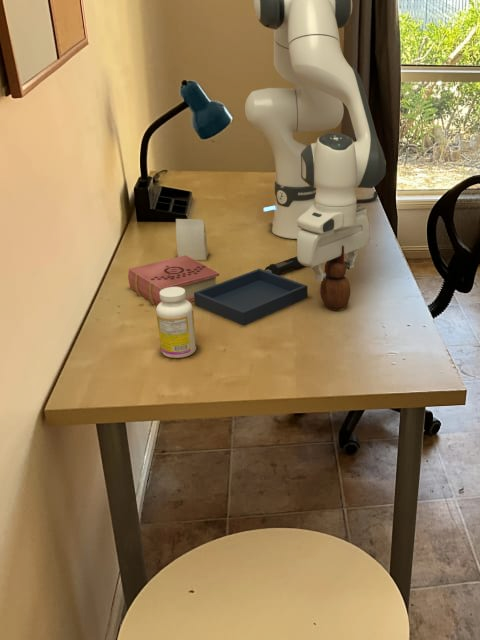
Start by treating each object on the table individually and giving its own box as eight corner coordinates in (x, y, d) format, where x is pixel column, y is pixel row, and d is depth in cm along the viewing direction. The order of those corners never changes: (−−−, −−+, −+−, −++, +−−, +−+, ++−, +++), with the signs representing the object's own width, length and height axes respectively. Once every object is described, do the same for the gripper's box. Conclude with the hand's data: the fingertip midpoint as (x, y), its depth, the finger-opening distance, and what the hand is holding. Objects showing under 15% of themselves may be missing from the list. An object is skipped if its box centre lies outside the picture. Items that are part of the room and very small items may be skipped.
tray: (259, 280, 180) (259, 268, 179) (307, 297, 172) (307, 285, 171) (194, 305, 166) (193, 292, 164) (243, 325, 158) (243, 312, 157)
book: (127, 290, 171) (125, 269, 169) (187, 274, 181) (185, 255, 179) (159, 310, 162) (157, 289, 160) (220, 292, 172) (219, 272, 170)
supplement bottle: (175, 341, 150) (169, 281, 144) (203, 348, 148) (198, 288, 142) (153, 355, 145) (146, 294, 139) (182, 362, 143) (176, 301, 137)
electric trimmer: (317, 264, 192) (317, 253, 190) (272, 280, 180) (272, 268, 179) (306, 261, 193) (306, 249, 192) (261, 276, 182) (261, 264, 181)
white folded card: (205, 260, 190) (202, 222, 185) (178, 259, 189) (174, 221, 185) (207, 254, 193) (204, 217, 189) (180, 254, 192) (177, 216, 188)
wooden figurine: (355, 308, 168) (356, 245, 161) (335, 315, 165) (335, 251, 158) (335, 299, 172) (336, 237, 166) (315, 305, 169) (315, 242, 162)
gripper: (355, 200, 168) (354, 257, 174) (291, 221, 153) (292, 283, 159) (377, 206, 165) (375, 264, 171) (314, 228, 150) (314, 291, 156)
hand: (335, 274), depth 165 cm, fingers open, 8 cm apart
